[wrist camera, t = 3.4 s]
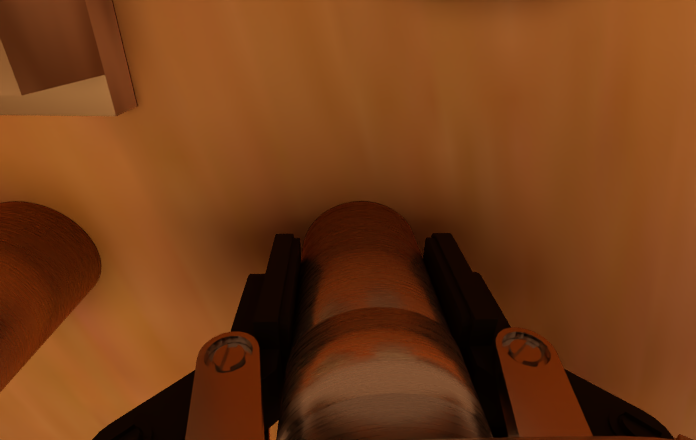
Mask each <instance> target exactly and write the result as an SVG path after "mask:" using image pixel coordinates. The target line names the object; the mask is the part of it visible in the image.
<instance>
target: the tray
mask: <svg viewBox="0 0 696 440" xmlns="http://www.w3.org/2000/svg"><path fill="white" fill-rule="evenodd" d="M135 107H137V103H136V99H135V95H134V91H133V87H132V82H131V78H130V74H129V70H128V66H127V61H126V57H125V53H124V49H123V45H122V40H121V36H120V32H119V28H118V24H117V20H116V15H115V11H114V7H113V3H112V0H0V115H46V116H118V115H120V114H122V113H124V112H126V111H129V110H131V109H133V108H135Z"/></svg>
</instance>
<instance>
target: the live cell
mask: <svg viewBox="0 0 696 440" xmlns="http://www.w3.org/2000/svg"><path fill="white" fill-rule="evenodd" d="M100 273H101V261H100V257H99V254H98V251H97V249H96V247H95V245H94V243H93V242H92V240H91V239H90V238H89V236H88V235H87V234H86V233H85V232H84V231H83V230H82V229H81V228H80V227H79V226H78V225H77V224H75V223H74V222H73V221H71V220H70V219H69V218H67V217H65V216H64V215H62V214H60V213H58V212H56V211H54V210H52V209H49V208H47V207H44V206H41V205H37V204H33V203H27V202H16V201H15V202H4V203H0V392H1V391H2V390H3V389H4V388H5V387H6V385H7V384H8V383H9V382H10V381H11V380H12V379H13V378H14V376H15V375H16V374H17V373H18V372H19V371H20V370H21V368H22V367H23V366H24V365H25V364H26V363H27V362H28V361H29V359H30V358H31V357H32V356H33V355H34V354H35V353H36V352H37V350H38V349H39V348H40V347H41V346H42V345H43V344H44V342H45V341H46V340H47V339H48V338H49V337H50V336H51V335H52V333H53V332H54V331H55V330H56V329H57V328H58V327H59V325H60V324H61V323H62V322H63V321H64V320H65V319H66V318H67V316H68V315H69V314H70V313H71V312H72V311H73V310H74V309H75V307H76V306H77V305H78V304H79V303H80V302H81V301H82V299H83V298H84V297H85V296H86V295H87V294H88V293H89V292H90V290H91V289H92V288H93V287H94V286H95V284H96V283H97V281H98V279H99V277H100Z"/></svg>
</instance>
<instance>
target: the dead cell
mask: <svg viewBox="0 0 696 440" xmlns="http://www.w3.org/2000/svg"><path fill="white" fill-rule="evenodd" d="M461 438H493V435H492V432H491V429H490V427H489V424H488V422H487V419H486V417H485V414H484V411H483V409H482V406H481V404H480V401H479V398H478V396H477V393H476V391H475V388H474V385H473V383H472V380H471V378H470V375H469V373H468V370H467V367H466V365H465V362H464V360H463V357H462V354H461V352H460V349H459V347H458V345H457V343H456V341H455V340H454V338H453V337H452V334H451V332H450V329H449V327H448V324H447V321H446V319H445V316H444V313H443V311H442V308H441V305H440V303H439V300H438V298H437V295H436V292H435V290H434V287H433V284H432V282H431V279H430V277H429V274H428V271H427V269H426V266H425V263H424V261H423V258H422V255H421V253H420V250H419V248H418V245H417V242H416V240H415V237H414V234H413V232H412V230H411V228H410V226H409V224H408V223H407V222H406V220H405V219H404V218H403V217H402V216H401V215H399V214H398V213H397V212H396V211H394V210H392V209H391V208H389V207H386V206H384V205H381V204H378V203H373V202H364V201H359V202H350V203H345V204H341V205H338V206H336V207H334V208H331V209H330V210H328V211H326V212H325V213H323V214H322V215H321V216H319V217H318V218H317V219H316V220H315V221H314V222H313V224H312V225H311V227H310V228H309V230H308V232H307V234H306V236H305V239H304V243H303V250H302V258H301V269H300V277H299V285H298V293H297V301H296V310H295V318H294V326H293V334H292V342H291V351H290V355H289V357H288V360H287V364H286V369H285V377H284V385H283V392H282V400H281V408H280V415H279V423H278V431H277V439H276V440H423V439H461Z"/></svg>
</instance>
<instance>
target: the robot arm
mask: <svg viewBox="0 0 696 440" xmlns="http://www.w3.org/2000/svg"><path fill="white" fill-rule="evenodd" d="M423 261H424V263H425V266H426V269H427V271H428V274H429V277H430V279H431V282H432V284H433V287H434V290H435V292H436V295H437V298H438V300H439V303H440V305H441V308H442V311H443V313H444V316H445V319H446V321H447V324H448V327H449V329H450V332H451V334H452V337H453V338H454V340H455V341H456V343H457V345H458V347H459V349H460V352H461V354H462V357H463V360H464V362H465V365H466V367H467V370H468V373H469V375H470V378H471V380H472V383H473V385H474V388H475V391H476V393H477V396H478V398H479V401H480V404H481V406H482V409H483V411H484V414H485V417H486V419H487V422H488V424H489V427H490V429H491V432H492V435H493V438H461V439H423V440H693V439H691V438H688V437H686V436H683V435H681V434H679V435H678V437H677V438H674V437H673V436H672V435H671V434H670V433H669V431H668V430H667V429H666V428H665V427H664V426H663V425H662V424H661V423H660V422H659V421H657V420H656V419H655V418H654V417H652V416H651V415H649V414H647V413H646V412H644V411H643V410H641V409H639V408H637V407H635V406H633V405H631V404H629V403H627V402H626V401H624V400H622V399H620V398H618V397H616V396H614V395H612V394H610V393H609V392H607V391H605V390H603V389H601V388H599V387H597V386H595V385H593V384H592V383H590V382H588V381H586V380H584V379H582V378H580V377H578V376H576V375H575V374H573V373H571V372H569V371H567V370H565V369H564V368H563V366H562V363H561V361H560V359H559V357H558V354H557V352H556V350H555V349H554V347H553V346H552V344H550V343H549V342H548V341H547V340H546V339H545V338H544V337H542V336H540V335H539V334H537V333H535V332H533V331H530V330H527V329H523V328H511V327H510V325H509V323H508V321H507V320H506V318H505V316H504V315H503V313H502V311H501V309H500V308H499V306H498V304H497V303H496V301H495V299H494V297H493V296H492V294H491V292H490V290H489V289H488V287H487V285H486V284H485V282H484V280H483V278H482V277H481V275H480V274H479V273H477V272H472V270H471V269H470V267H469V265H468V263H467V261H466V260H465V258H464V256H463V254H462V252H461V251H460V249H459V247H458V245H457V243H456V242H455V240H454V238H453V236H452V235H451V233H433V234H432V236H431V238H426V241H425V248H424V255H423ZM300 269H301V248H300V238H294V235H293V234H276V235H275V238H274V242H273V246H272V250H271V254H270V258H269V262H268V266H267V270H266V274H250V275H249V276H248V278H247V282H246V285H245V288H244V291H243V294H242V297H241V300H240V304H239V307H238V310H237V313H236V316H235V319H234V322H233V325H232V329H231V332H227V333H223V334H220V335H218V336H216V337H214V338H212V339H211V340H209V341H208V342H207V343H206V344H205V345H204V346H203V347H202V348H201V350H200V351H199V354H198V357H197V362H196V368H195V370H194V371H193V372H191V373H190V374H188V375H187V376H185V377H183V378H182V379H180V380H179V381H177V382H175V383H174V384H172V385H171V386H169V387H168V388H166V389H164V390H163V391H161V392H160V393H158V394H156V395H155V396H153V397H152V398H150V399H149V400H147V401H145V402H144V403H142V404H141V405H139V406H137V407H136V408H134V409H133V410H131V411H130V412H128V413H126V414H125V415H123V416H122V417H120V418H118V419H117V420H115V421H114V422H112V423H111V424H109V425H108V426H107V427H105V428H104V429H103V430H101V431H100V432H99V433H98V434H97V435H96V436H95V437H94V438H93V439H92V440H270V427H271V426H272V425H273V424H274V423H276V422H277V421H278V420H279V415H280V408H281V400H282V392H283V385H284V377H285V369H286V364H287V360H288V357H289V355H290V351H291V342H292V334H293V326H294V318H295V310H296V301H297V293H298V285H299V277H300Z"/></svg>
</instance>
